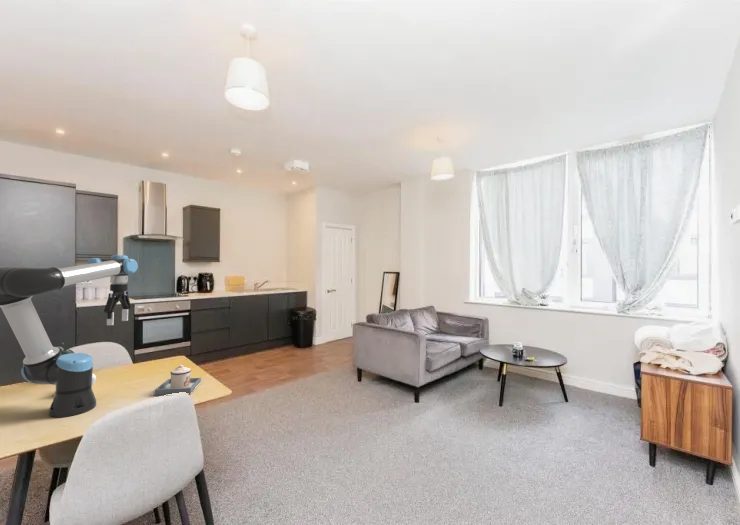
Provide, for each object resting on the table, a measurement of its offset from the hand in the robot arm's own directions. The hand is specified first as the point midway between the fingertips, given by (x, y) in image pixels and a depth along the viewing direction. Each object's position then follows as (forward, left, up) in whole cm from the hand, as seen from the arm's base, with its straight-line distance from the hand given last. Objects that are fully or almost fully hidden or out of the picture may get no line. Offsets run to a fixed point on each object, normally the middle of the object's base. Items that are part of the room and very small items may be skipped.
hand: (117, 322), depth 176 cm
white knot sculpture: (-13, +10, -32) cm, 36 cm away
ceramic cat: (+9, +30, -32) cm, 45 cm away
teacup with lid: (-15, -38, -31) cm, 51 cm away
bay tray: (-15, -37, -32) cm, 51 cm away
